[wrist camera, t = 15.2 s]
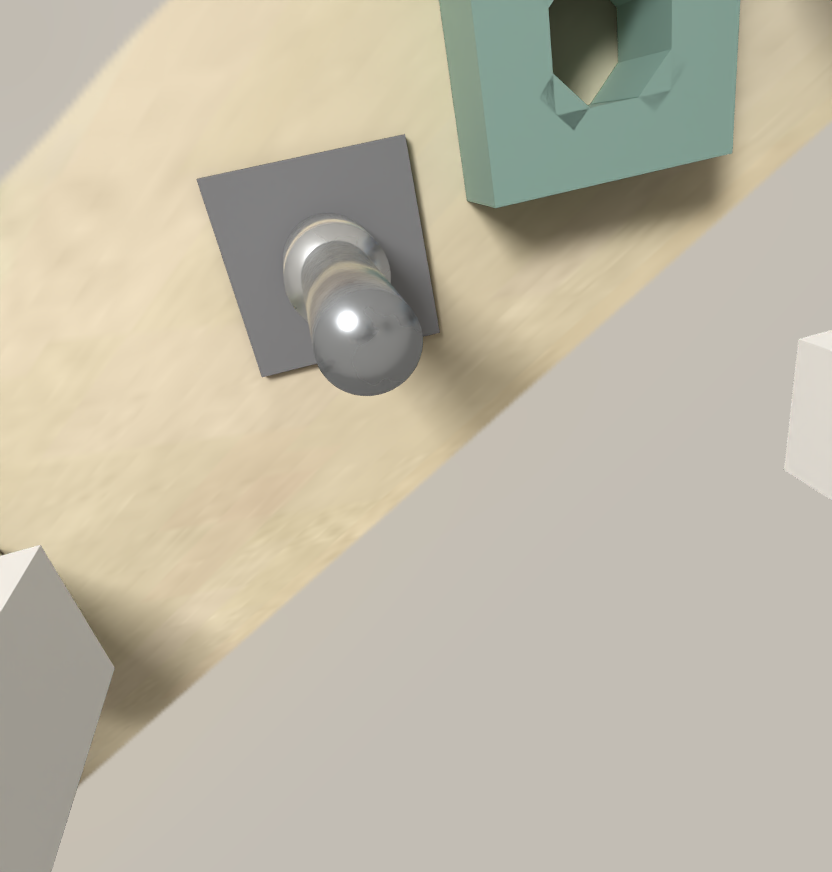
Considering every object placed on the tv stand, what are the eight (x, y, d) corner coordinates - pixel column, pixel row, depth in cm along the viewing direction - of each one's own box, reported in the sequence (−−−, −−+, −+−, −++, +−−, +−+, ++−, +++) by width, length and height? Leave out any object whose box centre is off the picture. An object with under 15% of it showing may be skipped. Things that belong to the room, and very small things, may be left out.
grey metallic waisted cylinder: (364, 203, 32) (431, 245, 19) (385, 296, 35) (457, 395, 21) (270, 225, 32) (266, 284, 18) (297, 318, 34) (312, 434, 20)
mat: (402, 134, 32) (404, 134, 31) (437, 329, 37) (439, 332, 37) (197, 178, 31) (196, 179, 30) (262, 374, 36) (262, 377, 35)
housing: (678, -133, 30) (749, -183, 25) (675, 153, 36) (732, 153, 31) (426, -89, 28) (454, -133, 24) (466, 200, 34) (495, 208, 30)
